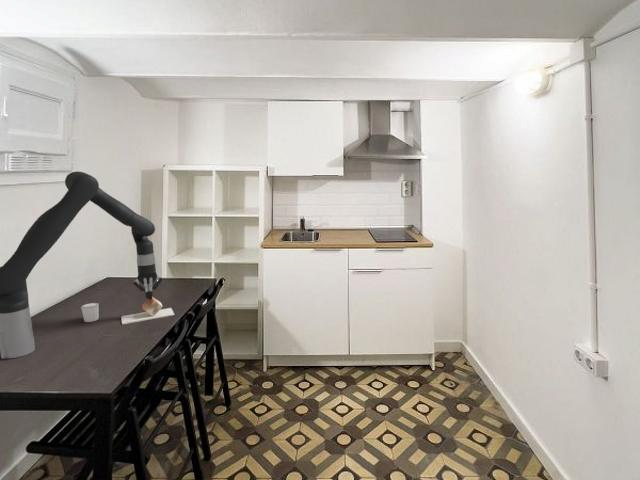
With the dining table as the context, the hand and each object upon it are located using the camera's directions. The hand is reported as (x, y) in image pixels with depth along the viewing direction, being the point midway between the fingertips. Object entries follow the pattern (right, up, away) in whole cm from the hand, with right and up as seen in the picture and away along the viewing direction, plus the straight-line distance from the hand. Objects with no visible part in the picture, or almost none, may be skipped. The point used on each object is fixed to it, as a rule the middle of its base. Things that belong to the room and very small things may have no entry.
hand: (149, 298), depth 166 cm
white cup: (-25, -9, -3) cm, 27 cm away
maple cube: (-1, -2, 0) cm, 2 cm away
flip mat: (-1, -9, +1) cm, 9 cm away
